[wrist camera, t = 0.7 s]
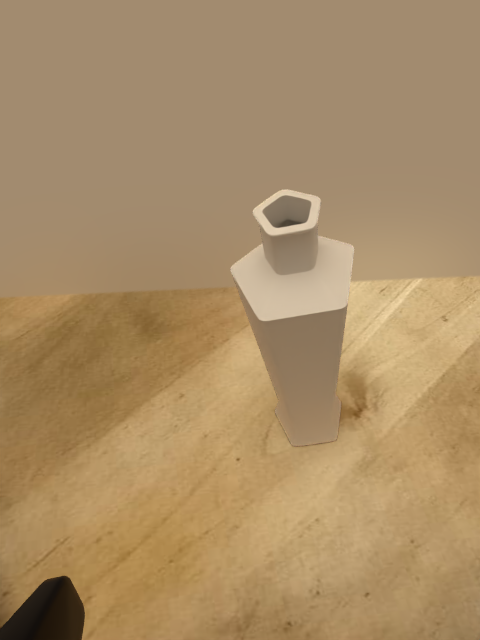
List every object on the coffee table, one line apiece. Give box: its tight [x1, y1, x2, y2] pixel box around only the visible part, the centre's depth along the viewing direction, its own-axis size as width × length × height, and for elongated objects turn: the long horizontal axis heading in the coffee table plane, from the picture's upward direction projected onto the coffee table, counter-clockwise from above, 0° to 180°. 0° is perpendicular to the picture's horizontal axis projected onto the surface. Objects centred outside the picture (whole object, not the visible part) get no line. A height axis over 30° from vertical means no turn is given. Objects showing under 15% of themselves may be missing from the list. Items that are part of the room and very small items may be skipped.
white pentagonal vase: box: [230, 190, 354, 446], centre depth 20 cm, size 5×4×15 cm
